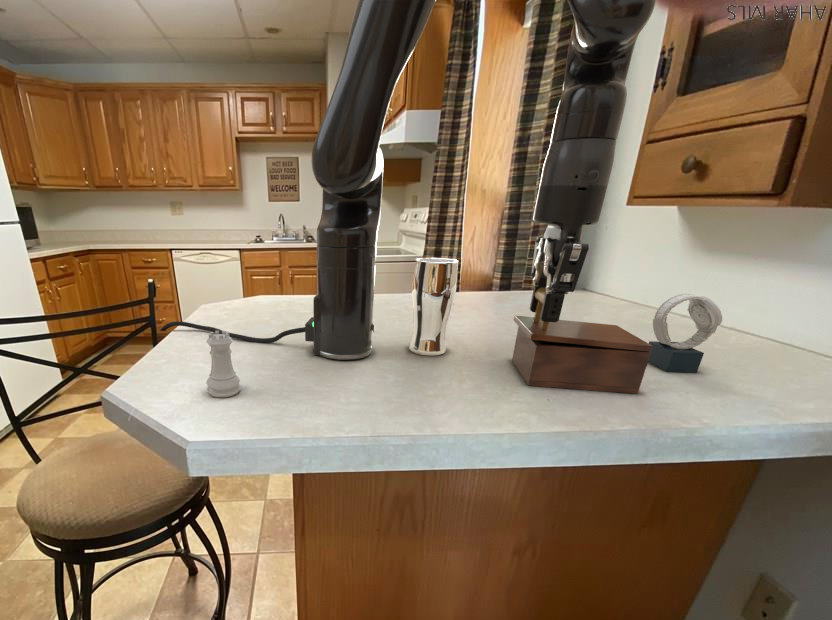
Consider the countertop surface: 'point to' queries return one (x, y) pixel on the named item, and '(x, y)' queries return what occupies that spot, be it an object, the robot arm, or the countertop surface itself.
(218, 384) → the rook chess piece
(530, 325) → the panel with brass rod
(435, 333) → the beer glass
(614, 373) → the brown wooden box
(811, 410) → the countertop surface
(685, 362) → the watch
